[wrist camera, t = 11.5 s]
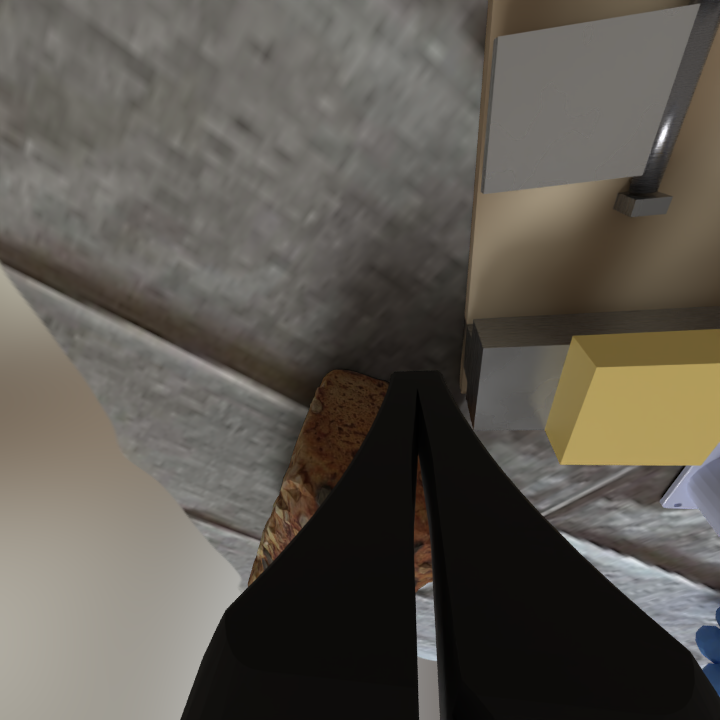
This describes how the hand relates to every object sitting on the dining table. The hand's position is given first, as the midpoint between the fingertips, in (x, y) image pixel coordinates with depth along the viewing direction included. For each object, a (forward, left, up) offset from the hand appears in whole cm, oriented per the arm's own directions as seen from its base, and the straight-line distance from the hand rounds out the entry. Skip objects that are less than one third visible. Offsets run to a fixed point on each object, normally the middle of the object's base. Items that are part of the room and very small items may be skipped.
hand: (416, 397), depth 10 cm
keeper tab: (-6, -6, -8) cm, 12 cm away
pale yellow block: (-9, +4, -8) cm, 12 cm away
